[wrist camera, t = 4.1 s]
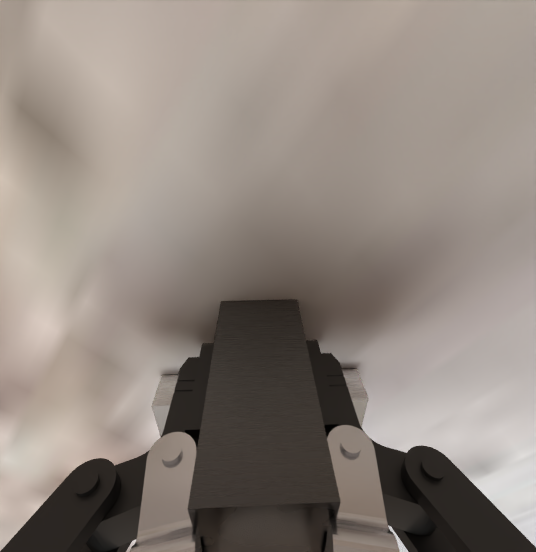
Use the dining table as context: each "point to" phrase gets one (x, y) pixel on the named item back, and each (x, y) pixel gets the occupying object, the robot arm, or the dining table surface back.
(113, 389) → the dining table surface
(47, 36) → the dining table surface
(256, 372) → the scraper
